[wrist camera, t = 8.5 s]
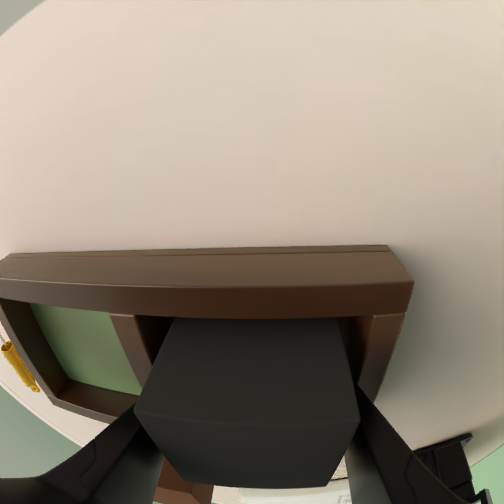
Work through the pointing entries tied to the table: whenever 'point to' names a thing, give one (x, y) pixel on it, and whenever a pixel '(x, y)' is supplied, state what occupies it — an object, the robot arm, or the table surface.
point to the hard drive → (299, 495)
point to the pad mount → (187, 310)
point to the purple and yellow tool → (18, 364)
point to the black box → (251, 401)
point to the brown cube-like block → (180, 489)
